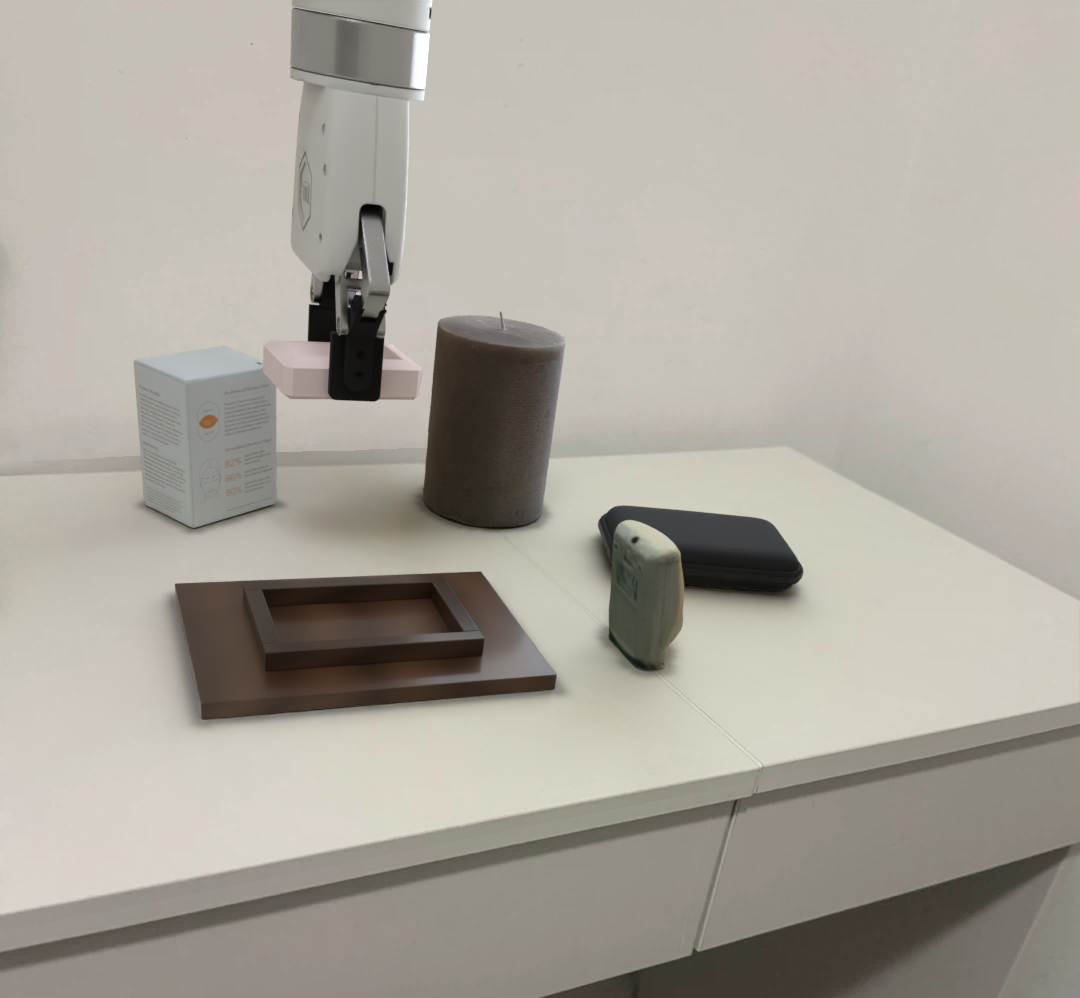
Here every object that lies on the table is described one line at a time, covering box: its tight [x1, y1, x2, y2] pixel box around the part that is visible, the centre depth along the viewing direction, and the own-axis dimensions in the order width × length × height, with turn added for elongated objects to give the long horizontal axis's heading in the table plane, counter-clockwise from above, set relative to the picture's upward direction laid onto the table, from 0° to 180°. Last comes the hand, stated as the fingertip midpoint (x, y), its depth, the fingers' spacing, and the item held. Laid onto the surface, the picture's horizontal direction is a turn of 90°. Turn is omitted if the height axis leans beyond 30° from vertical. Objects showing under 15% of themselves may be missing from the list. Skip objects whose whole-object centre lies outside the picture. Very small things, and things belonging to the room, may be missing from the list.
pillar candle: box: [422, 311, 566, 528], centre depth 82 cm, size 10×10×15 cm
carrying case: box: [597, 505, 804, 592], centre depth 81 cm, size 11×3×15 cm
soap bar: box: [262, 339, 423, 401], centre depth 68 cm, size 5×9×2 cm, turn 118°
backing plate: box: [174, 571, 558, 720], centre depth 63 cm, size 20×14×2 cm
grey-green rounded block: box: [608, 520, 685, 671], centre depth 66 cm, size 6×5×8 cm
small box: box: [133, 345, 278, 529], centre depth 75 cm, size 8×6×10 cm
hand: (342, 380), depth 69 cm, fingers closed on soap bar, 5 cm apart
